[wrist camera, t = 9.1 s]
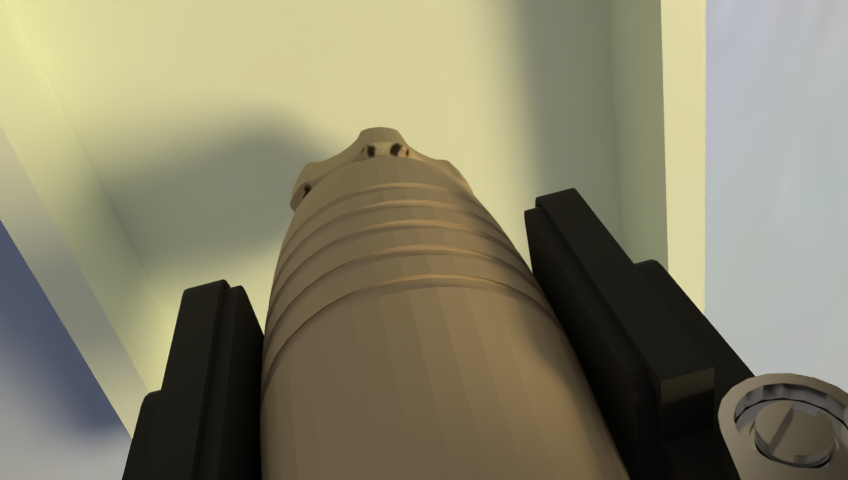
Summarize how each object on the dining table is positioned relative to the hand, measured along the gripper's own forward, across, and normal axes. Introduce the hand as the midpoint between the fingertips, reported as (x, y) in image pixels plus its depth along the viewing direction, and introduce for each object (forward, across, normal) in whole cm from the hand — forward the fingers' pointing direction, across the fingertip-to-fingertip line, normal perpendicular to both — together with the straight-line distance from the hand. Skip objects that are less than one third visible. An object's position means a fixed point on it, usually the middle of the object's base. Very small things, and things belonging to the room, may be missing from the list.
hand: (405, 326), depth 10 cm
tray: (+7, 0, 0) cm, 7 cm away
